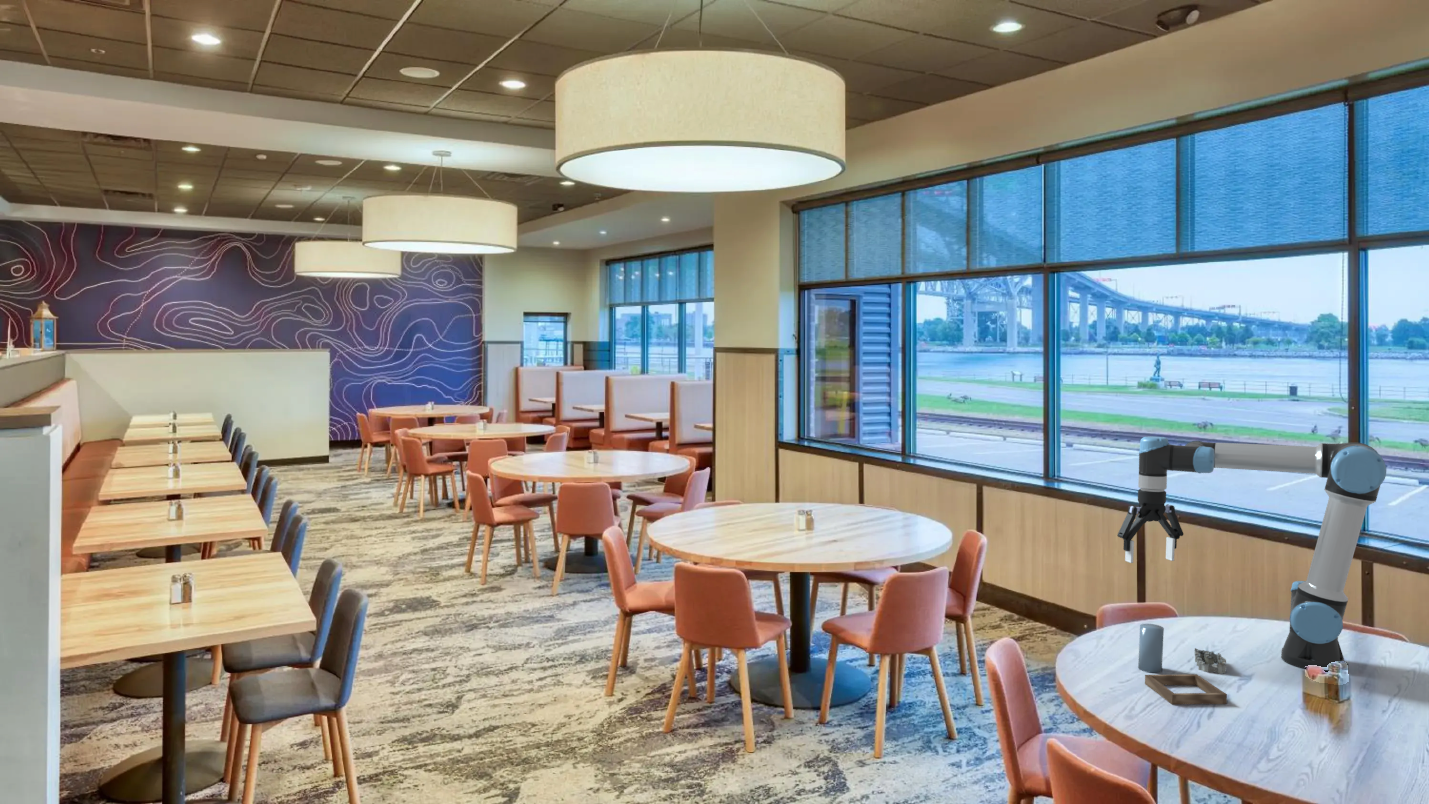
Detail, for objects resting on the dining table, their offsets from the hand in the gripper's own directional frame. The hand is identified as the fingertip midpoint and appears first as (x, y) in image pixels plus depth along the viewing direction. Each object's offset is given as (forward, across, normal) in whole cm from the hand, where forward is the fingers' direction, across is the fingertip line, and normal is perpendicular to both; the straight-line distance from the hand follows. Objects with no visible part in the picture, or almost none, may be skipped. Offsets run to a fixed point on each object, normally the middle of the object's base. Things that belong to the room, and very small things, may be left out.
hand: (1149, 560), depth 275 cm
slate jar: (+27, +10, +14) cm, 32 cm away
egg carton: (+27, -8, +16) cm, 33 cm away
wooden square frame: (+27, +13, +32) cm, 44 cm away
